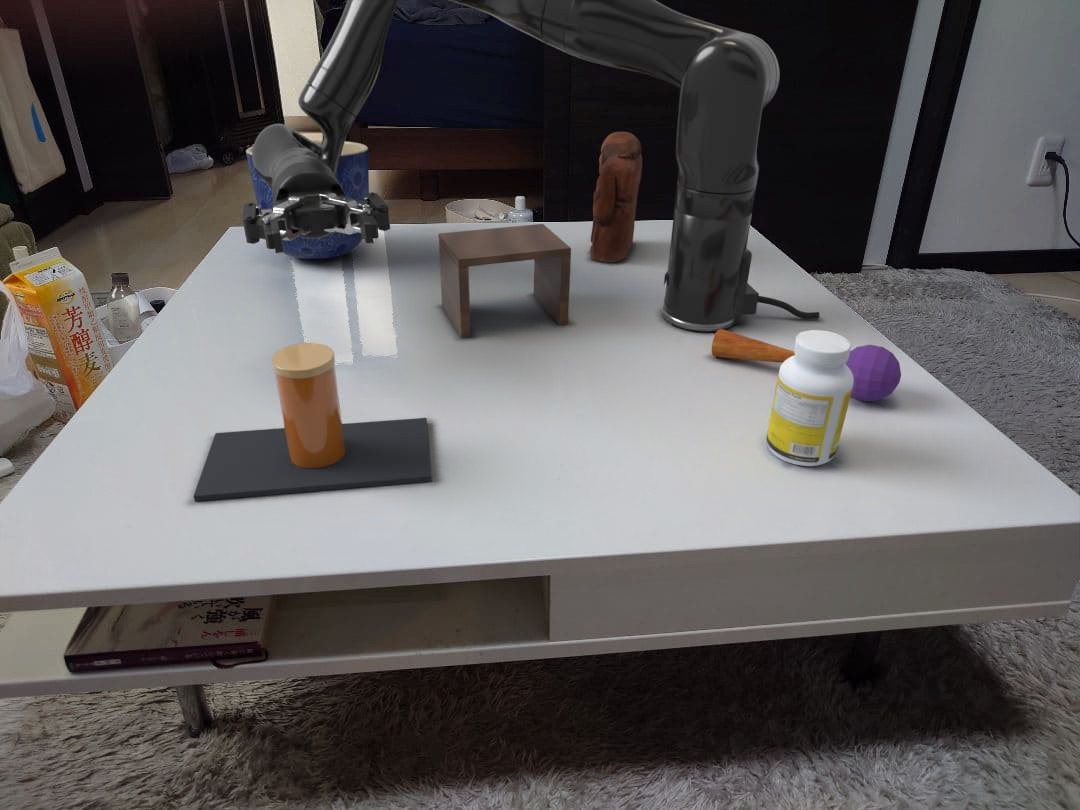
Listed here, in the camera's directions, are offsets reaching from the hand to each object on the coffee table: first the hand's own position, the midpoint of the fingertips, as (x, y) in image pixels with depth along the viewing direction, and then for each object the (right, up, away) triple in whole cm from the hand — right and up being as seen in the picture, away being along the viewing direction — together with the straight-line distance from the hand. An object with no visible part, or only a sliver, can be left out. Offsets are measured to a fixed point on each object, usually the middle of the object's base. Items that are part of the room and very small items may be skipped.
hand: (324, 238), depth 74 cm
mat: (0, -21, -3) cm, 21 cm away
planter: (-13, +7, +44) cm, 47 cm away
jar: (0, -20, -3) cm, 21 cm away
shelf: (+16, -4, +26) cm, 31 cm away
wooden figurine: (+32, +8, +48) cm, 58 cm away
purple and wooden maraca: (+50, -13, +13) cm, 53 cm away
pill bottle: (+45, -20, 0) cm, 50 cm away
